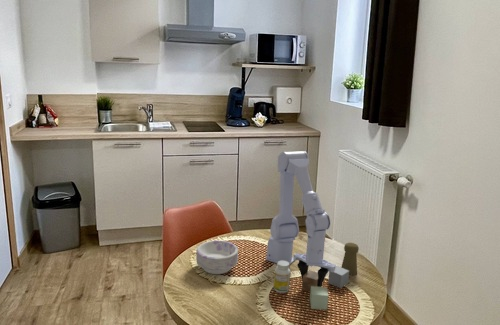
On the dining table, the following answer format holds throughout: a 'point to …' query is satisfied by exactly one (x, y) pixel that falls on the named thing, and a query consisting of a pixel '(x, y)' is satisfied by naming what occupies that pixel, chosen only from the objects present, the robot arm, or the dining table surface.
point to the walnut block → (309, 280)
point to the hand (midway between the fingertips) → (311, 284)
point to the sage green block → (319, 298)
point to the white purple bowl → (217, 256)
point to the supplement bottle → (282, 277)
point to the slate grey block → (338, 277)
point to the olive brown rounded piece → (350, 258)
